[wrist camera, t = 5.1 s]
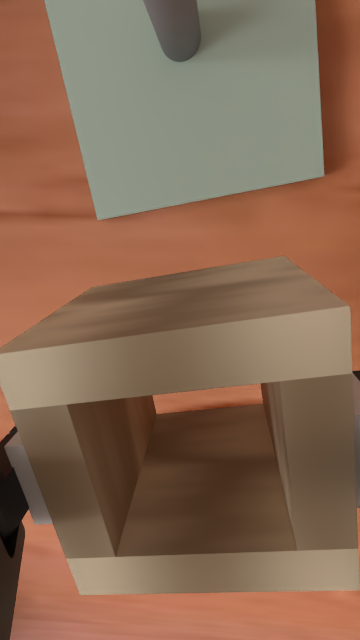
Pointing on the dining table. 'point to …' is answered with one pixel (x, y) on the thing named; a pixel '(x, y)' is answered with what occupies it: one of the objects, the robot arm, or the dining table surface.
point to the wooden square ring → (194, 432)
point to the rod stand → (190, 97)
